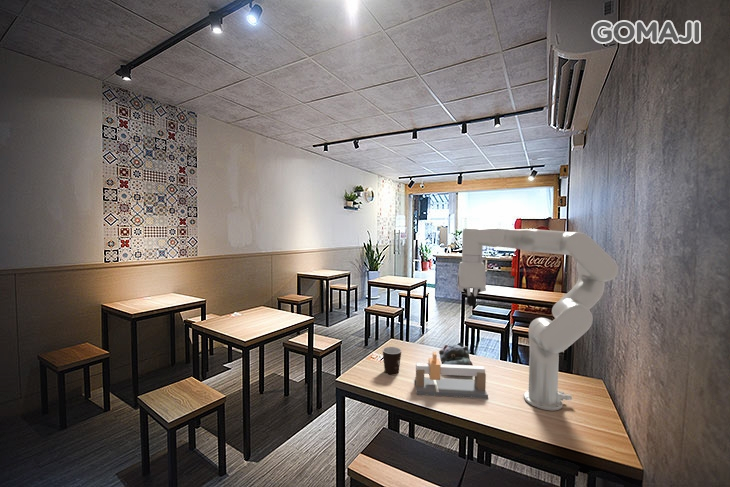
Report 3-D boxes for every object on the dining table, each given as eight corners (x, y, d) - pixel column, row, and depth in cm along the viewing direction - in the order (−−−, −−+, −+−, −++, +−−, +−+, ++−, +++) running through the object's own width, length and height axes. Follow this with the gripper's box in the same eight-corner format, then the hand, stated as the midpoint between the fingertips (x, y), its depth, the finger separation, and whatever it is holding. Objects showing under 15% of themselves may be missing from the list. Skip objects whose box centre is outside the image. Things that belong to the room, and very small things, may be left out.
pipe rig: (479, 383, 131) (479, 361, 131) (488, 398, 119) (488, 374, 119) (415, 380, 134) (415, 358, 133) (417, 394, 122) (417, 370, 121)
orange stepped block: (438, 373, 130) (438, 350, 129) (440, 380, 124) (440, 356, 123) (428, 372, 130) (428, 350, 130) (430, 379, 124) (430, 355, 124)
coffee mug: (390, 378, 136) (391, 355, 135) (378, 370, 143) (378, 349, 142) (409, 371, 143) (410, 349, 142) (397, 364, 149) (397, 344, 149)
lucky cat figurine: (437, 374, 139) (432, 342, 145) (445, 376, 148) (441, 345, 154) (470, 372, 132) (464, 338, 138) (477, 373, 141) (471, 342, 148)
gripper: (488, 258, 125) (487, 303, 126) (451, 258, 126) (450, 302, 127) (494, 260, 117) (493, 308, 118) (454, 259, 119) (453, 307, 120)
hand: (471, 305), depth 123 cm, fingers closed
